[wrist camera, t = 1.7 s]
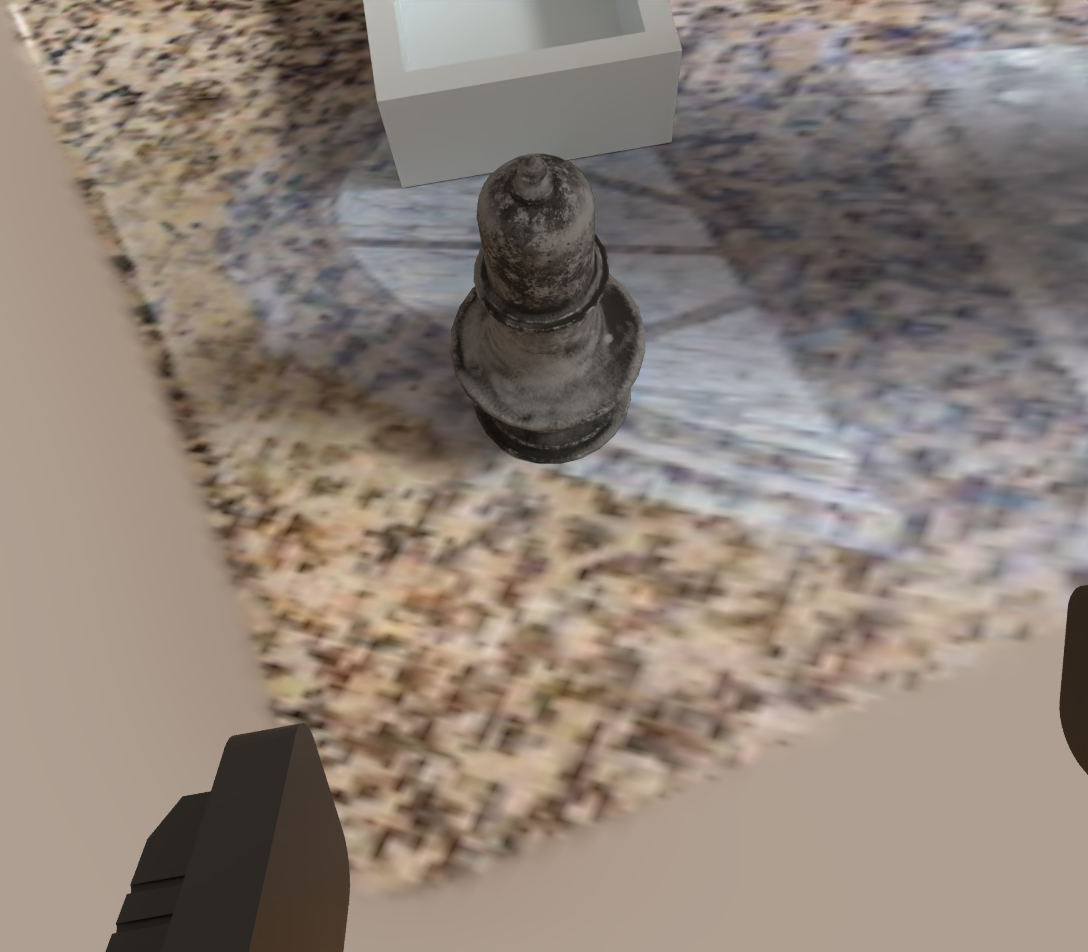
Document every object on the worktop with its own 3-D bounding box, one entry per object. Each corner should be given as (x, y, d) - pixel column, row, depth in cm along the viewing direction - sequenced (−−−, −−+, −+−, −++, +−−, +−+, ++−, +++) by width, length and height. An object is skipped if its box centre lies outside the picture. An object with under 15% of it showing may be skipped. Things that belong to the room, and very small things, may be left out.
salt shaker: (428, 404, 33) (343, 180, 22) (538, 282, 34) (512, 13, 23) (566, 507, 32) (551, 324, 20) (675, 375, 33) (719, 135, 22)
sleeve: (618, -59, 40) (622, -166, 35) (671, 142, 36) (682, 50, 32) (372, -18, 39) (346, -121, 35) (402, 187, 36) (376, 101, 32)
